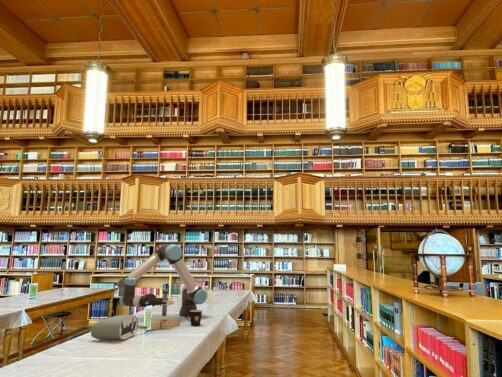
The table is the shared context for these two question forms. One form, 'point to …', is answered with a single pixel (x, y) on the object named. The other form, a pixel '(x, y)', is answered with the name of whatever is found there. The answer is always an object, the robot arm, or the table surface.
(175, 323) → the hinge leaf
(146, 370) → the table surface
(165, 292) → the hinge pin
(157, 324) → the hinge leaf
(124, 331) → the pencil case
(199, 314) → the coffee mug
